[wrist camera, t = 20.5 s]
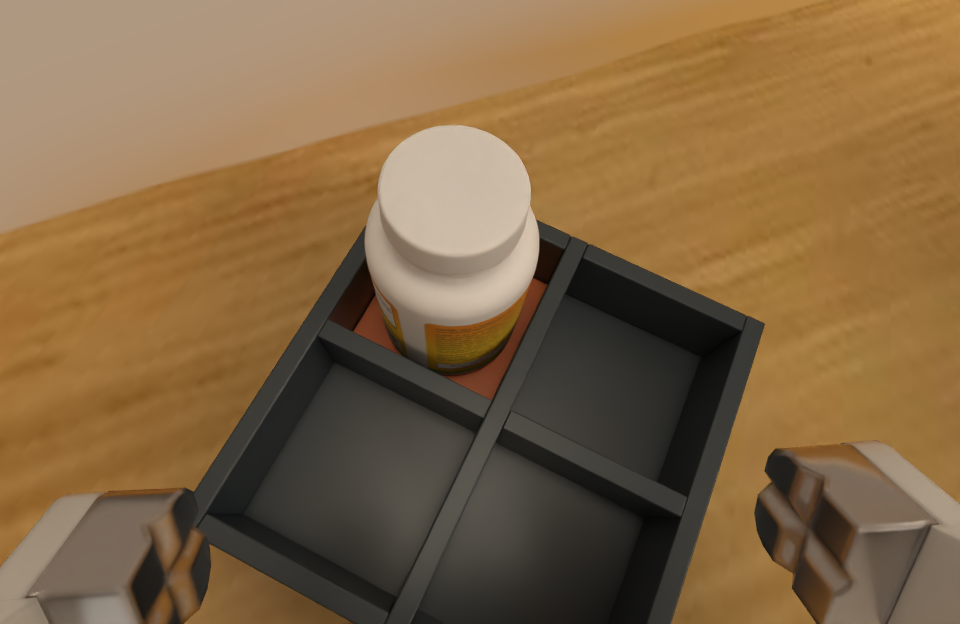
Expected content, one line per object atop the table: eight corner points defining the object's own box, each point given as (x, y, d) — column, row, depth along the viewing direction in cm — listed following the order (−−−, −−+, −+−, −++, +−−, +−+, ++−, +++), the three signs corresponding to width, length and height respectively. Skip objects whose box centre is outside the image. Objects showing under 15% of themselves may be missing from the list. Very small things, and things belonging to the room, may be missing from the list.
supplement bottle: (535, 292, 24) (592, 154, 15) (476, 402, 22) (500, 320, 13) (426, 236, 25) (417, 71, 16) (359, 338, 23) (306, 219, 14)
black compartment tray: (715, 353, 24) (765, 323, 21) (589, 724, 19) (624, 773, 16) (412, 211, 26) (407, 160, 22) (220, 523, 21) (172, 523, 17)
